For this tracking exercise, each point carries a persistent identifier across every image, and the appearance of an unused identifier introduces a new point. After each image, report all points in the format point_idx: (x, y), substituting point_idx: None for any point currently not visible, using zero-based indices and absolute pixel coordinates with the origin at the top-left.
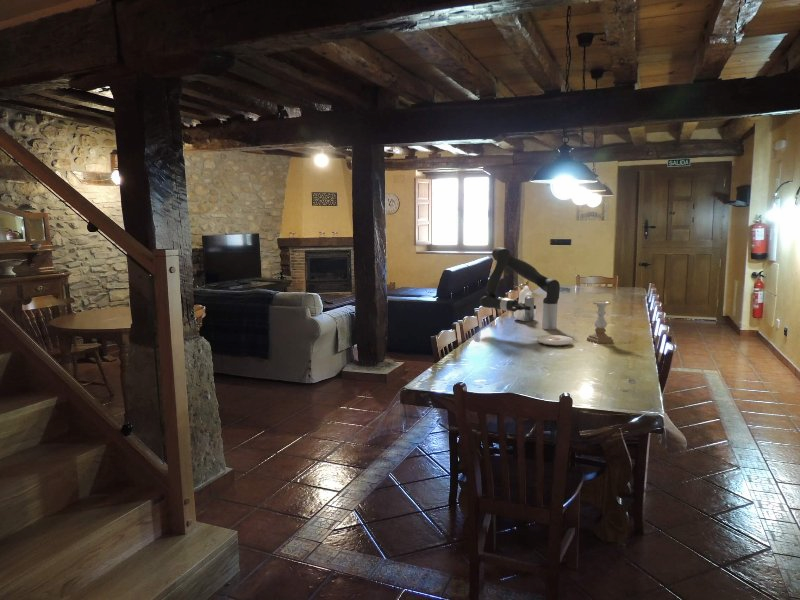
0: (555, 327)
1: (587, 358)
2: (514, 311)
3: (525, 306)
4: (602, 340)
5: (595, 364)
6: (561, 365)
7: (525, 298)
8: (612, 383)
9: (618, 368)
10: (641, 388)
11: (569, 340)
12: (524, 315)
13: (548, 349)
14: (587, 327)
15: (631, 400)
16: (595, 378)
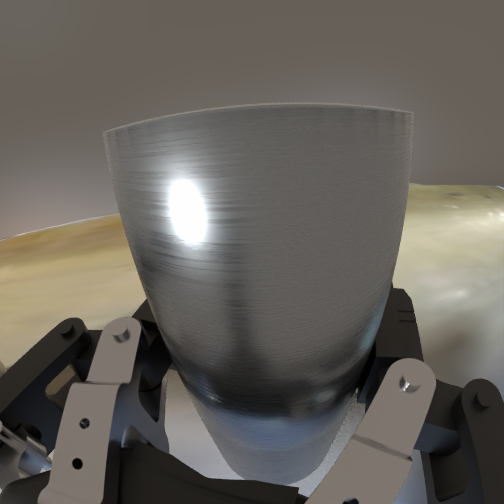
0: (6, 368)
1: (412, 235)
2: None
3: (400, 342)
4: None
5: (436, 222)
6: (498, 251)
7: (407, 138)
8: (483, 203)
9: (422, 203)
10: (466, 189)
11: None
12: (312, 461)
13: (418, 321)
14: (8, 299)
15: (499, 194)
16: (490, 214)
